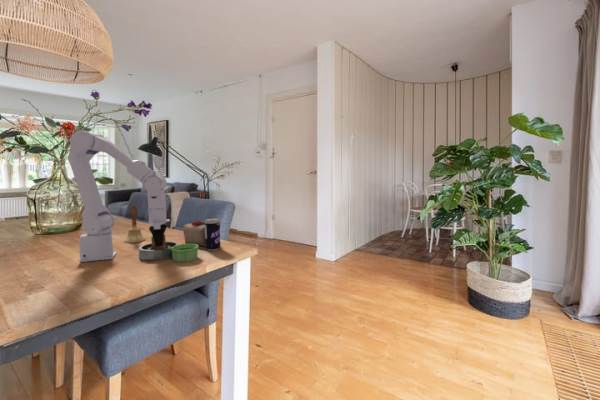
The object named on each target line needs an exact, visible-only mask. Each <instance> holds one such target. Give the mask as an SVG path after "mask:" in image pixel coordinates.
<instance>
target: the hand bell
mask: <svg viewBox="0 0 600 400" xmlns="http://www.w3.org/2000/svg"><path fill="white" fill-rule="evenodd" d="M129 212H130V217H131V227H129V228H128V233H127V236H126V238H125V239H124V243H127V244H128V243H131V244H132V243H141V242H143V241H146V240H147V239H146V237H144V236H143V234H142V232H141V228H140V227H138V226H137V216H138V209H137V207H136V205H135V204H131V208H130V211H129Z"/></svg>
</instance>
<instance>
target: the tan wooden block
mask: <svg viewBox="0 0 600 400" xmlns="http://www.w3.org/2000/svg"><path fill="white" fill-rule="evenodd" d="M150 238H151V243H152V250H156V249H166V234H164V237H163V244H162V246H156V245H155V242H154V238H153V235H151V236H150Z"/></svg>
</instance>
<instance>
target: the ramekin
mask: <svg viewBox="0 0 600 400" xmlns="http://www.w3.org/2000/svg"><path fill="white" fill-rule="evenodd" d="M171 250H172V255H173V257H172V260H173V261H174V262H176V263H186V262H192V261H195V260H196V259H198V255H199V254H198V251H199V245H197V244H186V243H181V244H178V245H176V246H173V247H172V248H171Z"/></svg>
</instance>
